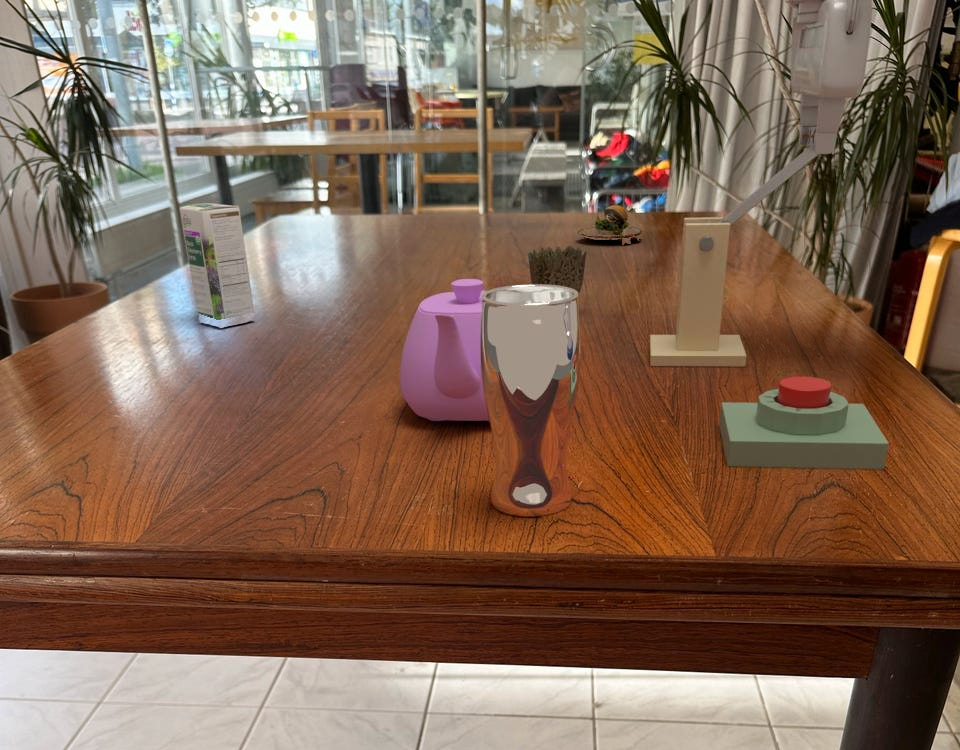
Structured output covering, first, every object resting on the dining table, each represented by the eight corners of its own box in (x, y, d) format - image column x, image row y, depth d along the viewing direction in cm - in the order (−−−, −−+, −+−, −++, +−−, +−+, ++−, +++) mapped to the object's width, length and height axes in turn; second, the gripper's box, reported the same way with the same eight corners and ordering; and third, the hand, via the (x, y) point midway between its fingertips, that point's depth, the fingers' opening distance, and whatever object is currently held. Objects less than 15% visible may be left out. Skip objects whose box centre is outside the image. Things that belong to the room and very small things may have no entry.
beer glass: (500, 525, 67) (494, 308, 60) (474, 490, 73) (466, 288, 65) (591, 512, 69) (597, 298, 61) (559, 479, 75) (561, 280, 67)
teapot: (425, 381, 99) (417, 263, 93) (550, 383, 97) (551, 262, 91) (375, 447, 83) (361, 307, 76) (526, 450, 80) (524, 308, 74)
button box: (859, 428, 82) (867, 382, 80) (884, 470, 74) (893, 420, 72) (718, 426, 84) (723, 381, 82) (727, 467, 76) (732, 418, 73)
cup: (520, 312, 126) (519, 248, 122) (572, 306, 128) (573, 243, 123) (540, 323, 120) (540, 256, 116) (593, 318, 121) (595, 251, 117)
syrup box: (197, 324, 127) (175, 206, 119) (235, 315, 130) (216, 201, 123) (220, 330, 123) (199, 209, 116) (258, 321, 127) (240, 203, 119)
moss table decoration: (570, 238, 178) (570, 195, 174) (630, 234, 179) (632, 191, 175) (587, 248, 168) (588, 202, 164) (651, 244, 169) (653, 198, 165)
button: (823, 397, 78) (827, 376, 78) (831, 412, 75) (835, 390, 74) (774, 397, 79) (776, 376, 78) (780, 411, 76) (782, 390, 75)
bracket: (738, 345, 107) (752, 213, 100) (745, 366, 100) (761, 226, 93) (649, 345, 109) (657, 215, 102) (649, 366, 101) (658, 227, 94)
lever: (835, 143, 94) (822, 123, 93) (844, 147, 90) (830, 125, 89) (699, 253, 101) (686, 235, 100) (701, 262, 97) (688, 243, 96)
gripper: (901, -34, 76) (870, 157, 83) (853, -16, 93) (831, 141, 100) (819, -30, 77) (796, 159, 84) (787, -13, 94) (770, 143, 101)
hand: (815, 149), depth 92 cm, fingers open, 8 cm apart
